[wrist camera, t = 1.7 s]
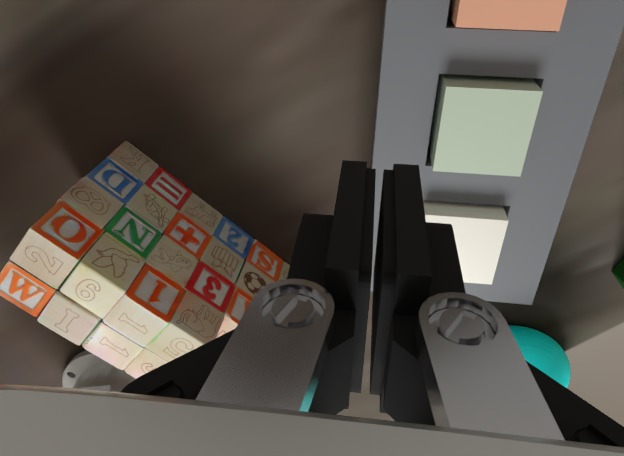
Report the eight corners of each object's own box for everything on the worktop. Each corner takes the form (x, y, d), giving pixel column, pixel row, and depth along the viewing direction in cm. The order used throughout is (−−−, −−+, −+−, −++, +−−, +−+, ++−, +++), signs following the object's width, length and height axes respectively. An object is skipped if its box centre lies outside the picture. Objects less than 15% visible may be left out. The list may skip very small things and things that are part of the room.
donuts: (637, 475, 35) (513, 519, 40) (588, 365, 44) (490, 412, 48) (552, 401, 32) (429, 458, 37) (517, 298, 41) (420, 355, 45)
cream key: (484, 258, 36) (491, 284, 34) (413, 252, 37) (415, 278, 34) (499, 196, 33) (508, 220, 31) (422, 191, 34) (425, 214, 31)
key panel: (519, 270, 39) (531, 305, 36) (363, 257, 40) (361, 290, 37) (643, -149, 25) (683, -156, 22) (398, -151, 26) (400, -159, 23)
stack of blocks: (340, 300, 43) (327, 425, 33) (294, 336, 46) (268, 462, 36) (124, 137, 37) (25, 228, 27) (87, 191, 40) (-15, 292, 30)
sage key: (509, 155, 32) (520, 176, 29) (428, 150, 32) (432, 171, 30) (529, 75, 29) (543, 91, 27) (440, 70, 30) (446, 86, 27)
